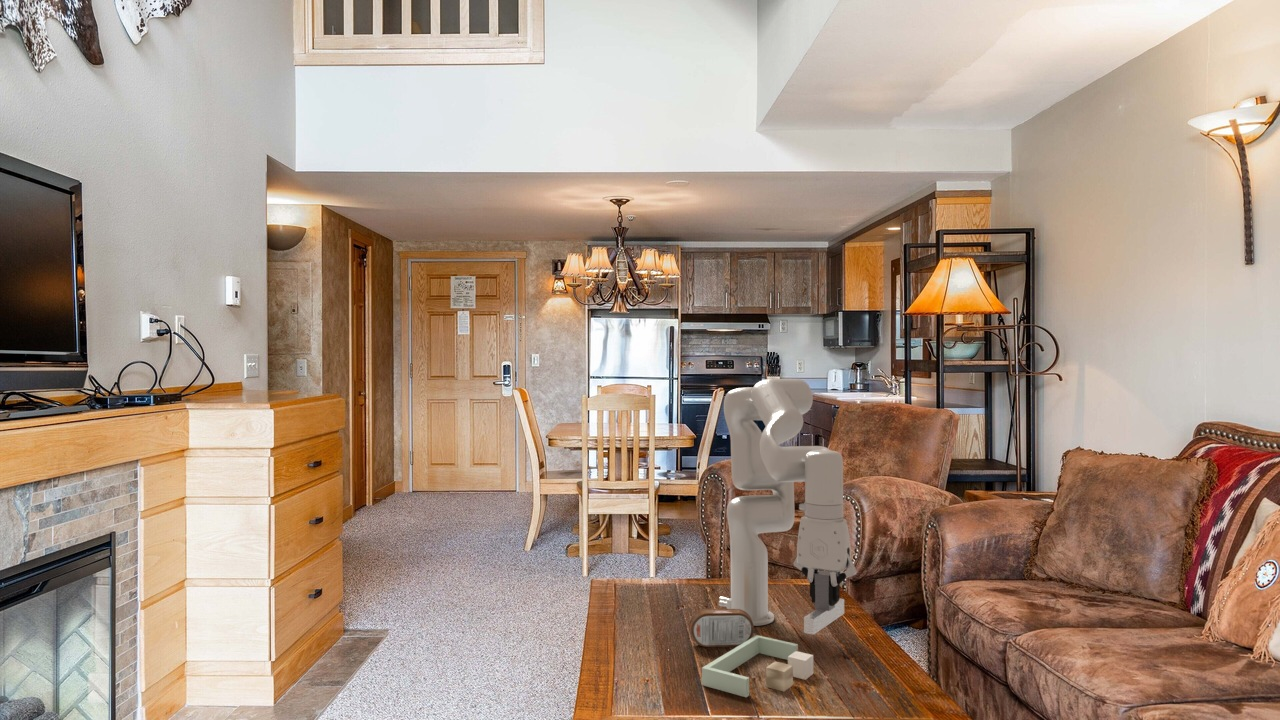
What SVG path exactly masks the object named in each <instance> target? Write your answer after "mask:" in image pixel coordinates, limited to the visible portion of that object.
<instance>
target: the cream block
mask: <svg viewBox="0 0 1280 720" xmlns="http://www.w3.org/2000/svg"><path fill="white" fill-rule="evenodd" d="M787 664H788V665H792V666H793V677H794V678H797V679H801V680H805V681H806V680H807V679H808V678H810V677H811V676H813V674H814V654H810V653H806V652H802V651H799V650H798V651H795V652H794V653H792V654H791V655H789V656H788V660H787Z"/></svg>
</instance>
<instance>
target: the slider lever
mask: <svg viewBox="0 0 1280 720" xmlns="http://www.w3.org/2000/svg"><path fill="white" fill-rule="evenodd" d="M830 585H831V577H830V571H825V570H819V572H817V573H815V603H814V609H815V610H813V611H811V612H810V613H808V614H807V615H805V616H803V633H805V634H809V635H813V636H814V635H816V634H817V633H819V631H821V630H823V629H824V628H826V627H827V626H828V625H830V624H831V623H833V622H834V621H836V620H837V619H838V618H840V617H841V616H843V615H844V614H845V598H840V599H839V601H838V603H837V604H835V605H834V606H830V605H829V586H830Z"/></svg>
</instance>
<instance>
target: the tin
mask: <svg viewBox="0 0 1280 720" xmlns="http://www.w3.org/2000/svg"><path fill="white" fill-rule="evenodd" d="M688 628H689V633H690V635H691V637H692V639H693V641H694V642H695V643H696V644H697V645H698V646H701V647H704V648H727V647H728V648H732V647H733V648H736V647H737V646H739V645H741V644H743V643H744V642H746V641H748V640H749V639H751V638H753V637H754V636H753V635H754V634H755V626H754V625H753V622H752V619H751V617H750V616H749V614H748V613H747V612H745V611H743V610H741V609H727V608H704V609H700V610H698V611H697V612H695V613H694V614H693V616H692V617H691V618H690V620H689V627H688Z"/></svg>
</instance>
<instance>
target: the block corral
mask: <svg viewBox="0 0 1280 720" xmlns="http://www.w3.org/2000/svg"><path fill="white" fill-rule="evenodd" d="M795 651H798V652H799V645H798V643H795V642H790V641H785V640H780V639H776V638H772V637H767V636H763V635H758V634H757V635H754V636H752V638H751V639H749V640H748V641H746V642H744V643H743V644H741V645H739V646H737V647H733V649H731V650H729V651H727V652H726V653H724V654H723V655H721V656H719V657H717V658H716V659H714V660H712V661H711V662H708V664H706V665H704V666H702V667H701V686H704V687H707V688H712V689H715V690H719V691H722V692H725V693H729V694H733V695H736V696H740V697H744V698H748V697H749V696H750V677H749V676H744V675H741V674H736V673H733V672H732V671H733V670H735V669H736V668H738V667H739V666H741V665H742V664H745V663H746V662H747V661H749V660H750V659H752V658H754V657H755V656H756V655H758V654H761V655H765V656H770V657H774V658H777V659H783V660H787V661H788V656H789V655H791V654H792V653H794V652H795Z"/></svg>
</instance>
